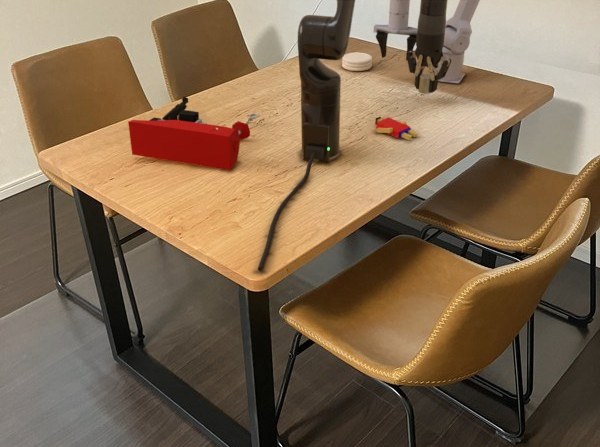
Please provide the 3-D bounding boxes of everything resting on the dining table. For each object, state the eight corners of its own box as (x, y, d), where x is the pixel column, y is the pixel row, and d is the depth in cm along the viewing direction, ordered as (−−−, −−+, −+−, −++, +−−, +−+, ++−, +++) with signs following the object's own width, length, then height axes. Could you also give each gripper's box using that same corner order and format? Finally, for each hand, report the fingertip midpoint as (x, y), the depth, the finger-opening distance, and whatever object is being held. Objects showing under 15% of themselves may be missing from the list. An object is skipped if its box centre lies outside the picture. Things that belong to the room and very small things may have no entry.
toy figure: (421, 128, 160) (386, 113, 167) (405, 136, 156) (369, 120, 163) (420, 136, 162) (385, 121, 169) (404, 144, 158) (368, 128, 165)
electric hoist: (177, 78, 171) (124, 120, 146) (270, 90, 165) (231, 136, 141) (180, 112, 176) (129, 158, 152) (269, 125, 171) (232, 175, 146)
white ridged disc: (357, 73, 202) (357, 63, 200) (335, 66, 209) (336, 56, 207) (378, 66, 208) (378, 56, 206) (356, 60, 214) (357, 50, 212)
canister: (434, 92, 178) (436, 77, 175) (421, 94, 177) (423, 79, 174) (428, 88, 181) (430, 73, 179) (416, 89, 180) (417, 74, 178)
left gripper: (461, 31, 168) (453, 92, 177) (417, 22, 176) (412, 81, 185) (446, 37, 163) (439, 99, 172) (401, 28, 171) (397, 87, 181)
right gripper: (371, 13, 181) (368, 59, 188) (419, 17, 176) (415, 64, 183) (378, 7, 186) (376, 52, 194) (426, 12, 181) (421, 58, 188)
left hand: (425, 89), depth 179 cm, fingers closed on canister, 4 cm apart
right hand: (395, 58), depth 189 cm, fingers open, 7 cm apart
